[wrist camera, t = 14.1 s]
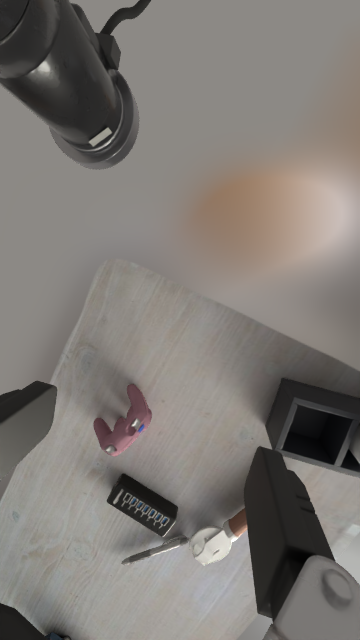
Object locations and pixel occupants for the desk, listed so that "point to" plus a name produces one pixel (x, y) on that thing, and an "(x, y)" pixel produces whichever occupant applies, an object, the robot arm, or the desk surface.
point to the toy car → (56, 637)
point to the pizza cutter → (217, 539)
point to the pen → (157, 549)
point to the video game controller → (124, 425)
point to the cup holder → (314, 426)
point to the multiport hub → (143, 505)
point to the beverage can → (356, 444)
